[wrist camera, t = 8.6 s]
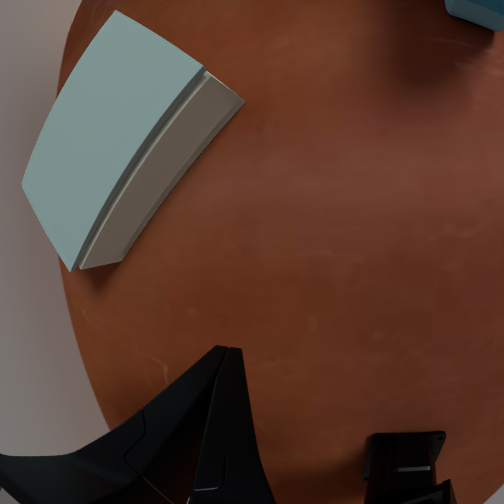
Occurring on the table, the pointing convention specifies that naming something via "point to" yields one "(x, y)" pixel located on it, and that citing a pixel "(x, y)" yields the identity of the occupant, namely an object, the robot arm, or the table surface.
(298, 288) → the table surface
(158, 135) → the cream box
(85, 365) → the table surface
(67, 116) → the box lid
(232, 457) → the robot arm
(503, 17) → the blue rounded square block
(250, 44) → the table surface
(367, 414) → the table surface
